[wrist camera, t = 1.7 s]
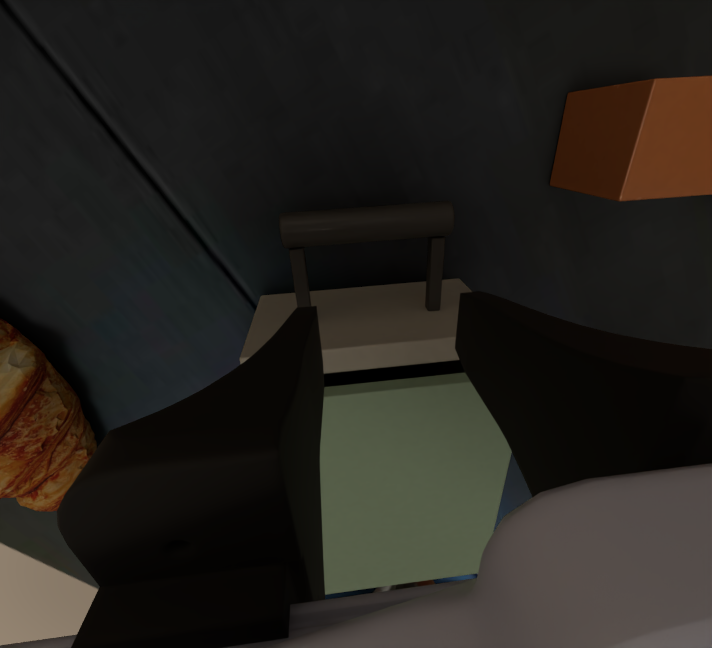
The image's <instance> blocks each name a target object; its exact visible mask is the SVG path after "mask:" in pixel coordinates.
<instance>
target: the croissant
mask: <svg viewBox="0 0 712 648" xmlns="http://www.w3.org/2000/svg"><path fill="white" fill-rule="evenodd" d="M94 436H95V434H94V432H93V431H92V429H91V426H90V423H89V422H88V421H87V420H86V419H85V416H84V415H83V412H82V408H81V404H80V399H79V398H78V396H77V394H76V393H75V391H74V390H73V389H72V387H71V386H70V385H69V383H68V382H67V381H66V380H65V379H64V378H63V377H62V376H61V375H60V374H59V373H58V372H57V371H56V370H55V368H54V367H53V366H52V365H51V363H49V361H48V360H47V359H46V357H45V354H44V353H43V352H42V351H41V350H40V349H39V348H38V347H36V346H35V345H34V344H33V343H32V342H31V341H30V340H29V339H27V338H26V337H25V336H23V335H22V334H21V333H20V331H19V330H17V329H16V328H14V327H13V326H11V325H10V324H9V323H7V322H6V321H4V320H3V319H1V318H0V499H1V498H2V497H5V498H12V497H16V498H17V501H18V502H19V504H20V505H21V506H26V507H28V508H30V509H33V510H36V511H57V509H58V507H59V505H60V503H61V501H62V499H63V497H64V495H65V494H66V492H67V491H68V489H69V488H70V486H71V485H72V484H73V482H74V481H75V479H76V478H77V476H78V475H79V474H80V472H81V471H82V469H83V468H84V466H85V465H86V463H87V462H88V461H89V459H90V458H91V456H92V455H93V453H94V452H95V451H96V449H97V443H96V440H95V438H94Z"/></svg>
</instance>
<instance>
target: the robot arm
mask: <svg viewBox="0 0 712 648" xmlns="http://www.w3.org/2000/svg"><path fill="white" fill-rule="evenodd" d="M455 350H456V352H457V355H458V357H459V360H460V362H461V364H462V367H463V369H464V371H465V373H466V375H467V376H468V378H469V380H470V381H471V383H472V385H473V386H474V388H475V390H476V391H477V393H478V394H479V396H480V398H481V399H482V401H483V402H484V404H485V405H486V407H487V409H488V410H489V412H490V413H491V415H492V417H493V418H494V420H495V421H496V423H497V425H498V426H499V428H500V430H501V431H502V433H503V435H504V437H505V439H506V440H507V443H508V445H509V447H510V449H511V451H512V453H513V455H514V457H515V459H516V461H517V463H518V465H519V468H520V470H521V472H522V474H523V477H524V479H525V481H526V483H527V485H528V488H529V490H530V492H531V494H532V497H533V498H531V499H530V500H528V501H527V502H525V503H524V504H522V505H521V506H519V507H517V508H516V509H514V510H513V511H511V512H510V513H508V514H507V515H505V516H504V517H503V519H502V520H501V522H500V524H499V525H498V527H497V528H496V530H495V531H494V533H493V535H492V536H491V538H490V539H489V541H488V542H487V545H486V547H485V549H484V551H483V553H482V557H481V562H480V567H479V571H478V576H477V578H475V579H468V580H461V581H454V582H447V583H440V584H433V585H426V586H418V587H411V588H404V589H397V590H390V591H383V592H376V593H369V594H362V595H355V596H348V597H341V598H333V599H326V600H325V583H324V561H323V537H322V512H321V483H320V442H321V428H322V415H323V400H324V370H323V357H322V348H321V340H320V331H319V323H318V314H317V306H310V307H299V308H296V309H295V310H294V311H293V313H292V314H291V315H290V316H289V317H288V319H287V320H286V321H285V322H284V324H283V325H282V326H281V327H280V328H279V329H278V330H277V332H276V333H275V334H274V335H273V336H272V337H271V338H270V339H269V340H268V341H267V342H266V343H265V344H264V345H263V346H262V347H261V348H260V349H259V350H258V351H257V352H256V353H255V354H253V355H252V356H251V357H250V358H249V359H247V360H246V361H245V362H243V363H242V364H241V365H239V366H238V367H237V368H236V369H234V370H233V371H231V372H230V373H228V374H227V375H225V376H223V377H222V378H220V379H219V380H217V381H215V382H214V383H212V384H211V385H209V386H207V387H206V388H204V389H202V390H201V391H199V392H197V393H195V394H193V395H191V396H189V397H187V398H185V399H183V400H181V401H179V402H177V403H175V404H173V405H171V406H169V407H167V408H165V409H162V410H160V411H158V412H156V413H153V414H151V415H148V416H146V417H143V418H141V419H138V420H136V421H133V422H131V423H129V424H126V425H124V426H121V427H118V428H116V429H113V430H110V431H109V432H108V434H107V435H106V436H105V438H104V439H103V440H102V442H101V443H100V445H99V446H98V448H97V449H96V451H95V452H94V453H93V455H92V456H91V458H90V459H89V461H88V462H87V463H86V465H85V466H84V468H83V469H82V471H81V472H80V474H79V475H78V476H77V478H76V479H75V481H74V482H73V484H72V485H71V486H70V488H69V489H68V491H67V492H66V494H65V495H64V497H63V499H62V501H61V503H60V505H59V507H58V509H57V522H58V528H59V530H60V532H61V534H62V536H63V537H64V539H65V541H66V543H67V545H68V546H69V548H70V549H71V550H72V551H73V553H74V554H75V555H76V557H77V558H78V559H79V560H80V562H81V563H82V564H83V565H84V567H85V568H86V569H87V571H88V572H89V573H90V574H91V576H92V577H93V578H94V580H95V581H96V582H97V583H98V585H99V586H100V588H99V590H98V592H97V594H96V596H95V598H94V600H93V602H92V604H91V607H90V609H89V611H88V613H87V615H86V617H85V619H84V621H83V623H82V625H81V628H80V630H79V632H78V634H77V635H72V636H64V637H58V638H50V639H43V640H37V641H30V642H23V643H15V644H8V645H1V646H0V648H712V349H705V348H697V347H689V346H681V345H674V344H667V343H661V342H655V341H650V340H644V339H639V338H633V337H628V336H623V335H618V334H614V333H609V332H605V331H601V330H597V329H593V328H589V327H585V326H582V325H578V324H575V323H572V322H568V321H565V320H562V319H559V318H556V317H553V316H550V315H547V314H544V313H541V312H538V311H536V310H533V309H530V308H527V307H525V306H522V305H519V304H517V303H514V302H511V301H509V300H506V299H503V298H501V297H498V296H495V295H492V294H488V293H485V292H480V291H477V292H466V293H460V300H459V310H458V320H457V330H456V340H455Z"/></svg>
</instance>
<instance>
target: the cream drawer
mask: <svg viewBox="0 0 712 648" xmlns="http://www.w3.org/2000/svg"><path fill="white" fill-rule="evenodd" d="M279 227H280V235H281V241H282V244H283V246H284V248H289V254H290V261H291V268H292V274H293V281H294V288H295V293H286V294H274V295H263V296H261V297H260V300H259V303H258V306H257V309H256V312H255V315H254V318H253V321H252V323H251V326H250V329H249V332H248V335H247V338H246V341H245V344H244V347H243V350H242V353H241V356H240V363H241V364H242V363H243V362H245V361H246V360H247V359H249V358H250V357H251V356H252V355H253V354H255V353H256V352H257V351H258V350H259V349H260V348H261V347H262V346H263V345H264V344H265V343H266V342H267V341H268V340H269V339H270V338H271V337H272V336H273V335H274V334H275V333H276V332H277V330H278V329H279V328H280V327H281V326H282V325H283V324H284V322H285V321H286V320H287V319H288V317H289V316H290V315H291V314H292V313H293V311H294V310H295V309H296V308H299V307H310V306H317V314H318V323H319V331H320V340H321V348H322V357H323V370H324V387H330V386H340V385H349V384H359V383H369V382H378V381H388V380H397V379H407V378H417V377H426V376H436V375H446V374H455V373H465V371H464V369H463V367H462V364H461V362H460V360H459V357H458V355H457V352H456V350H455V340H456V330H457V320H458V310H459V300H460V293H466V292H472V291H471V290H470V289H469V288H468V287H467V286H466V285H465V284H464V283H463V282H462V281H461V280H460V279H447V280H442V276H443V262H444V248H445V237H444V236H448V235H450V234H451V233H452V231H453V227H454V209H453V205H452V203H451V202H450V201H439V202H425V203H412V204H398V205H384V206H370V207H357V208H343V209H329V210H315V211H302V212H288V213H281V214H280V216H279ZM423 237H428V255H427V276H426V281H424V282H412V283H401V284H389V285H378V286H366V287H355V288H343V289H332V290H320V291H309V283H308V275H307V267H306V259H305V251H304V247H309V246H322V245H335V244H347V243H360V242H373V241H385V240H398V239H411V238H423Z"/></svg>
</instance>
